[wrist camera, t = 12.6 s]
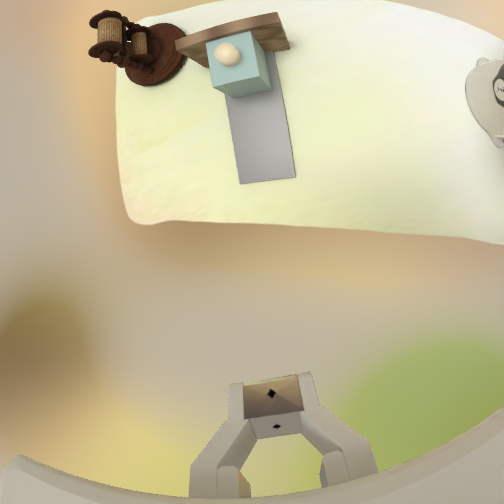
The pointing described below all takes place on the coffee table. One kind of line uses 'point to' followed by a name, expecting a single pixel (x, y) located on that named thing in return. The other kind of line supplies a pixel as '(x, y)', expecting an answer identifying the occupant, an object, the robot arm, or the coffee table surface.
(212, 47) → the dowel block
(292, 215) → the coffee table surface
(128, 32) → the scroll
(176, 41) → the backstop wall
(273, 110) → the grey flat rectangular plate
